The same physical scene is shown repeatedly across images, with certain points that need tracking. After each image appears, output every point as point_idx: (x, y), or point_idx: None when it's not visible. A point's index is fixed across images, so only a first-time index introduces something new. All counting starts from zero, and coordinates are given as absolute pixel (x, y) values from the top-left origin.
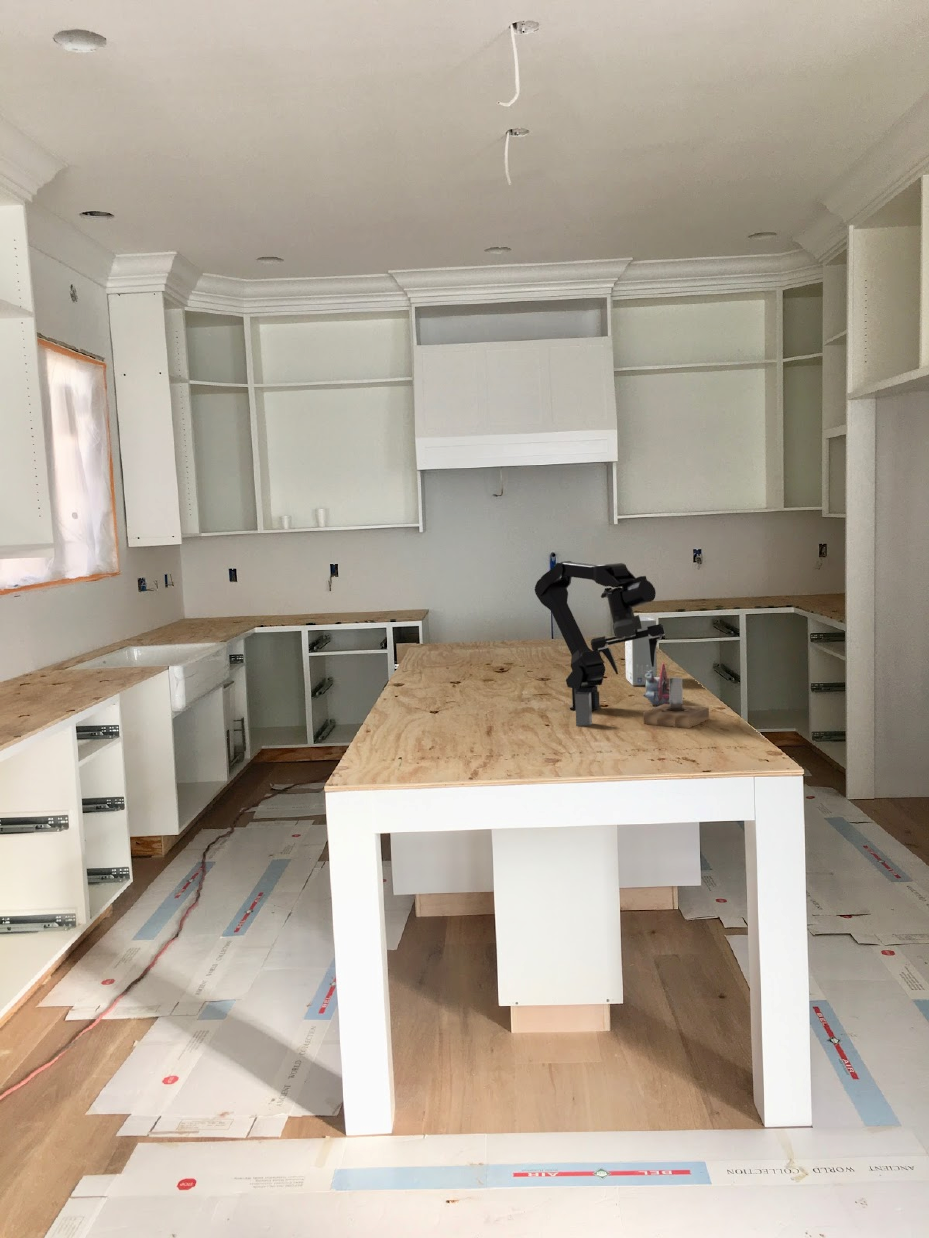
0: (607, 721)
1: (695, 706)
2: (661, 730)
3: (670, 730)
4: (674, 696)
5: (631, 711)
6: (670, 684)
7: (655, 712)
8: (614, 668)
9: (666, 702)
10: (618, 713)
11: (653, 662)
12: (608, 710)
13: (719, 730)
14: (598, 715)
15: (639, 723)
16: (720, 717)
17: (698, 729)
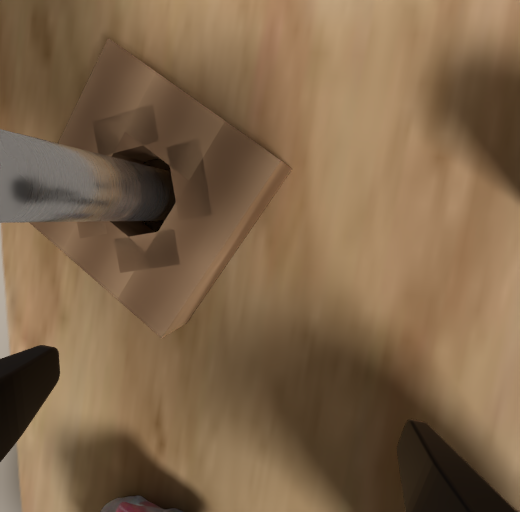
0: (450, 254)
1: (61, 245)
2: (243, 25)
3: (210, 24)
4: (97, 153)
5: (299, 437)
6: (58, 159)
7: (228, 139)
8: (463, 469)
9: (149, 506)
10: (363, 416)
11: (7, 359)
12: (397, 495)
13: (56, 18)
14: (469, 403)
15: (308, 182)
16: (28, 238)
17: (114, 39)
